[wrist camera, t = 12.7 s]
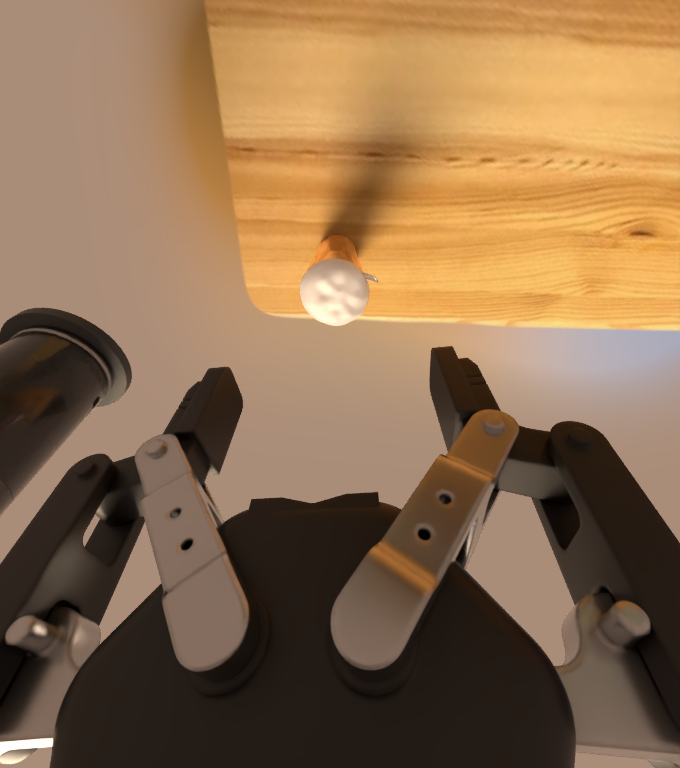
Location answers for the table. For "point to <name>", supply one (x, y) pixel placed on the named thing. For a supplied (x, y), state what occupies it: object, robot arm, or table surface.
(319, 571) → the robot arm
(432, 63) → the table surface
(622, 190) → the table surface
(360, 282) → the milkshake
